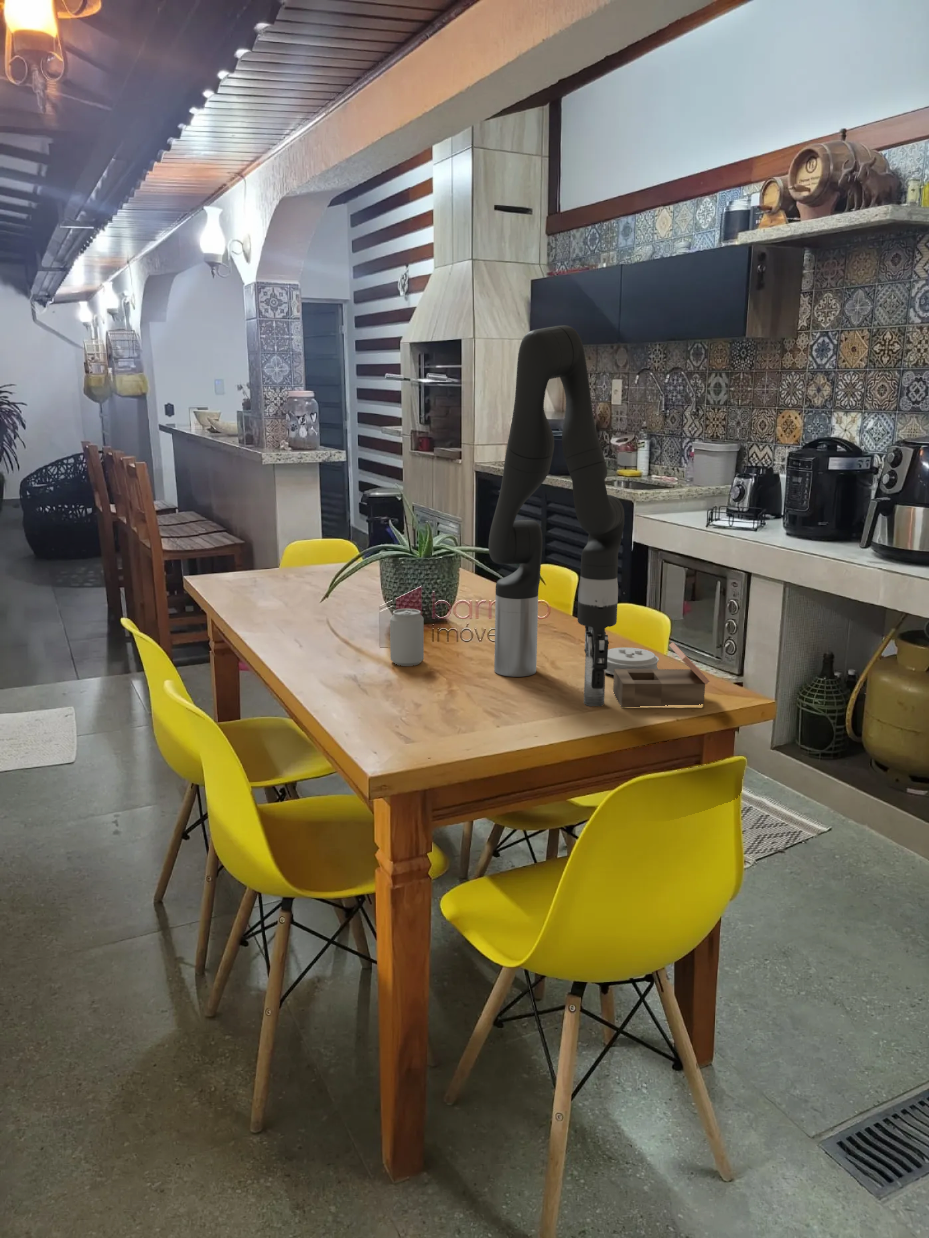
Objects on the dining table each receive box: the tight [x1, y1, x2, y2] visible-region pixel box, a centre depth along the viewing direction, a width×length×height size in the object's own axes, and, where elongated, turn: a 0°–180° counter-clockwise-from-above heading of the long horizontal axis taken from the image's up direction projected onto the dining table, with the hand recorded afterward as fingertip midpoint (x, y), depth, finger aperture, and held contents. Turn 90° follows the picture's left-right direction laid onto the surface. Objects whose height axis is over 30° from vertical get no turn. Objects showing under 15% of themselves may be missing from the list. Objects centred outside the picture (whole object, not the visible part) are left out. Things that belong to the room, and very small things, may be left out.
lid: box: [605, 647, 660, 676], centre depth 211 cm, size 13×13×5 cm
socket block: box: [612, 668, 706, 708], centre depth 191 cm, size 10×16×5 cm, turn 91°
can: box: [389, 608, 425, 667], centre depth 216 cm, size 8×8×12 cm
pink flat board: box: [668, 641, 710, 685], centre depth 190 cm, size 11×7×1 cm
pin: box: [583, 648, 606, 707], centre depth 189 cm, size 4×4×11 cm
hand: (594, 682), depth 189 cm, fingers open, 6 cm apart
